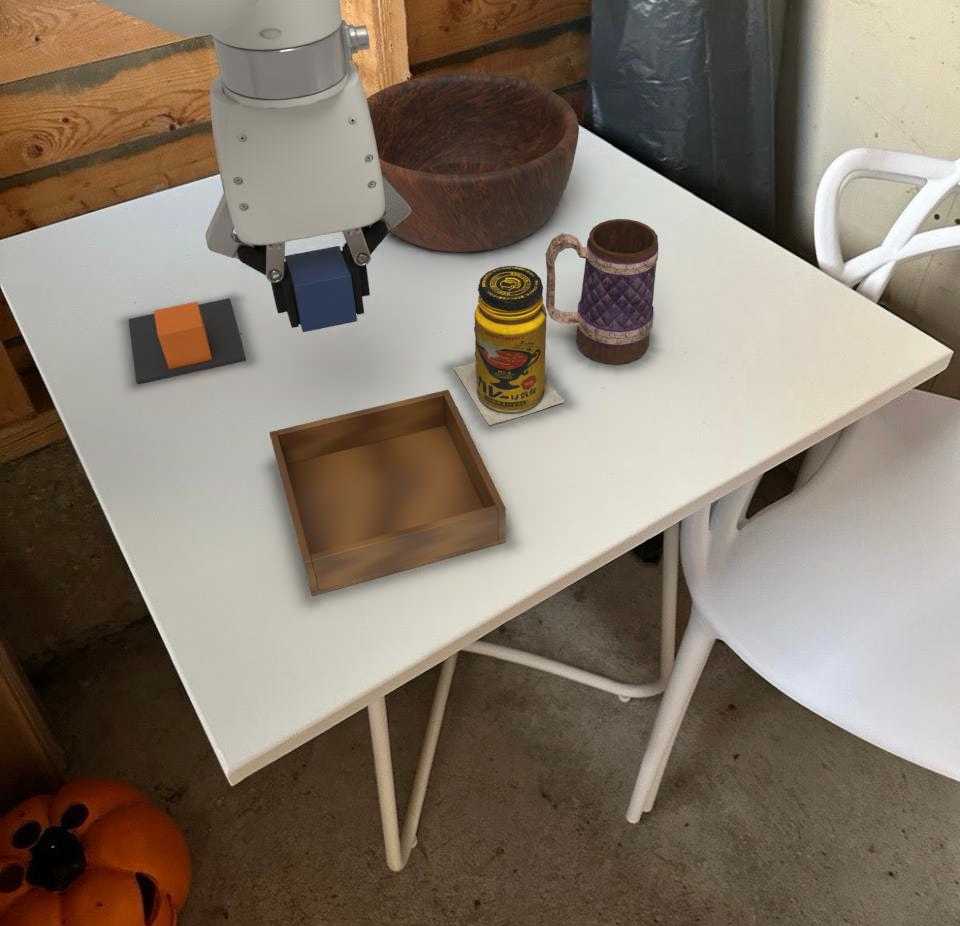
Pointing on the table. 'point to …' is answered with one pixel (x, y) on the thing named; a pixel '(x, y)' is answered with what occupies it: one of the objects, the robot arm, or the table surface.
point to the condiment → (509, 347)
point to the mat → (223, 352)
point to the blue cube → (322, 288)
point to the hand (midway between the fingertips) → (324, 308)
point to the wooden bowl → (473, 157)
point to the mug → (610, 289)
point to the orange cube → (182, 335)
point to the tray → (386, 491)
